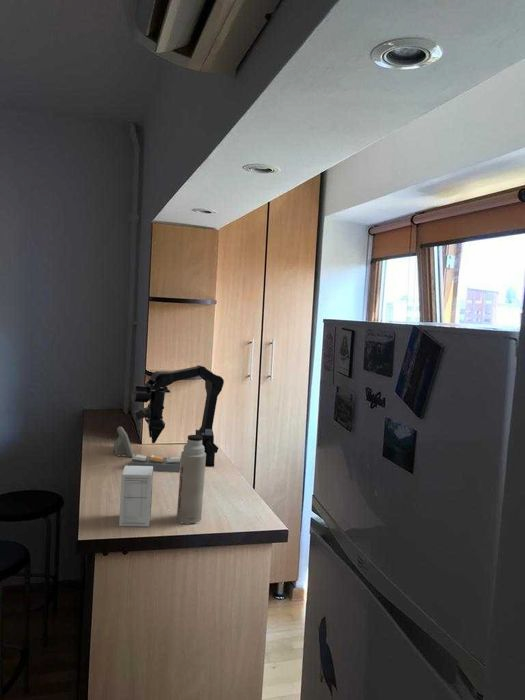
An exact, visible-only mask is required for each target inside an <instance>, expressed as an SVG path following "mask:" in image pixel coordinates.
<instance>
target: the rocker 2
mask: <svg viewBox="0 0 525 700" xmlns="http://www.w3.org/2000/svg"><path fill="white" fill-rule="evenodd" d="M166 458H167V462H178V461H180V458H181V455H180V456H167V457H166Z"/></svg>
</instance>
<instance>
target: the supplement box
mask: <svg viewBox="0 0 525 700" xmlns="http://www.w3.org/2000/svg"><path fill="white" fill-rule="evenodd" d="M153 477H154V471H153V466H131V465H125V466H124V468H123V471H122V473H121V480H120V481H121V483H120V484H121V485H120V503H119V517H118V518H119V521H118V526H119V527H148V528H149V527H150V524H151V523H150V522H151V516H152V505H153V504H152V503H153V481H154V480H153V479H154V478H153Z"/></svg>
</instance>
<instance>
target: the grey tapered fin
mask: <svg viewBox="0 0 525 700" xmlns="http://www.w3.org/2000/svg"><path fill="white" fill-rule="evenodd" d="M116 430H117V434H118V437H117V438H116V440H115V441H114V443H113V452H114V451H115V452H114V454H115V453H116V454H115V456H116V455H128V456H127V457H128V458H133V455H134V454H135V453H134V450H133V448H132V445H131V441H130V439H129V435H128V433H127V432H126V431H125V429H124V428H123V426H118V427H117V428H116Z"/></svg>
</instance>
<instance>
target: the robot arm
mask: <svg viewBox="0 0 525 700" xmlns="http://www.w3.org/2000/svg"><path fill="white" fill-rule="evenodd" d="M196 377H200V379H202V380H204V389H205V392H206V396H205V403H204V408H203V409H204V410H203V414H202V420H201V421H202V422H201V426H200V428H199V429H195V435H200V436H202V437H203V439H202V445H203V446H204V449H205V451H204V452H205V453H206V462H205V467H211V468H212V467H215V457H216V454H217V453H218V450H219V447H218V446H217V445H216V444H215V434H214V432H213V431H214V430H213V428H214V427H213V426H214V420H215V412H216V408H217V401H218V398H219V395H220V393H221V392H222V389H223V387H224V384H225V380H224V378H223V377H222V376H220V375H217V374H215V373H213V372H211V370H209V369H208V368H206V366H203V365H195V366H191V367H187V368H183V369H182V368H181V369H177V370H173V371H167V370H166V371H165V370H160V371H158V370H157V371H154V372H152V374H151V376H150V378H149V379H148V381H147V382H146V383H145V384H144V385H139V384H134V385H133V386H134V387H133V389H132V390H131V392H130V399H131V400H130V401H131V402H133V403H148V404H147V407H141V408H139V409H135V410H134V411H133V413H134V418H135V421H139V420H141V419H144V421H145V423H146V424H147V427H148V434H149V438H151V443H152V444H155V443H156V442H157V440H158V438H159V436H160V434H161V433H162V432H163V430H164V429H165V427H166V422H165V421H164V420H163V419H164V417H163V413H164V410H165V406H164V405H165V404H164V403H165V396H166V393H167V394H169V393H171V390H170V389H169V388H168V386H170V385H171V384H174V383H175V382H177V381H183V380H187V379H192V378H196Z"/></svg>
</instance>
